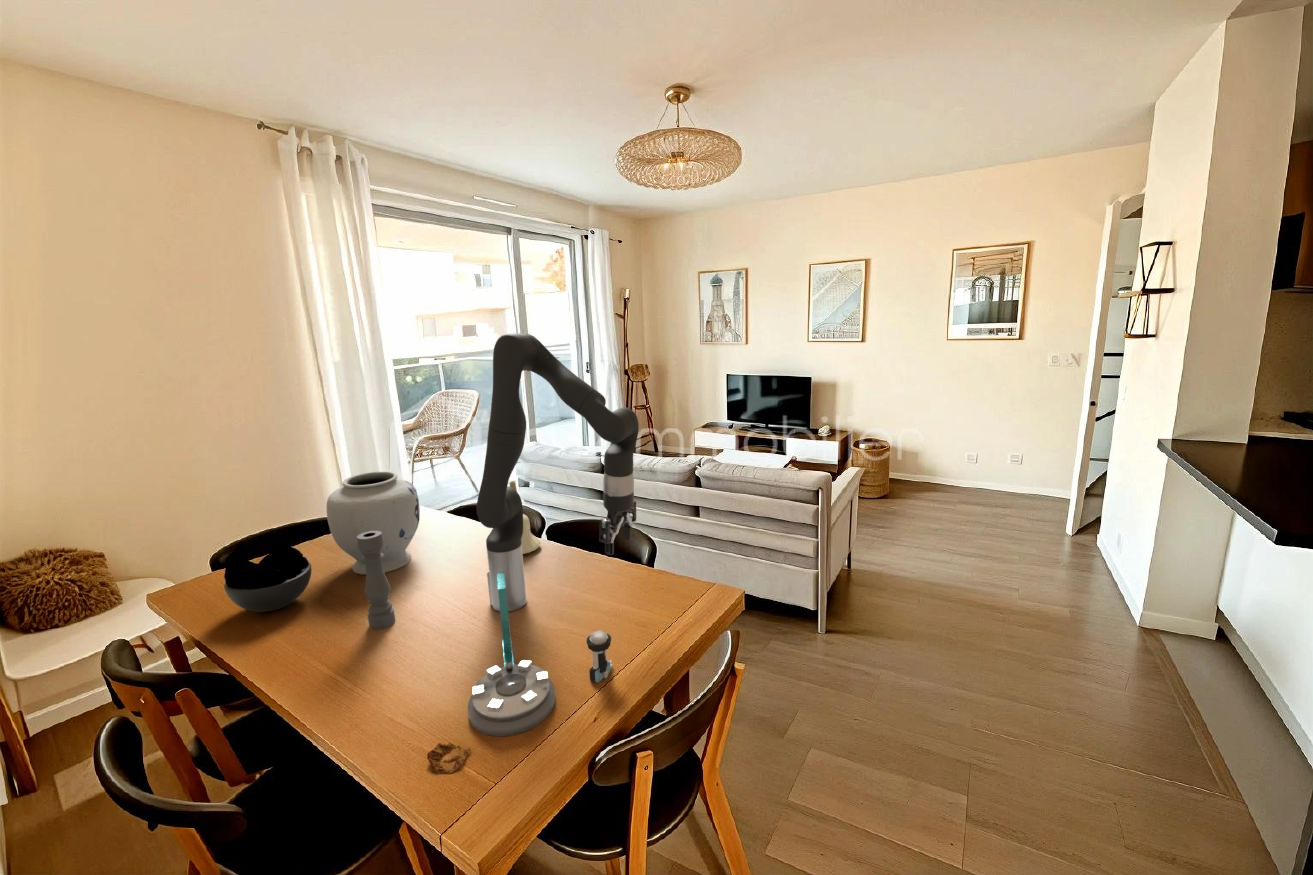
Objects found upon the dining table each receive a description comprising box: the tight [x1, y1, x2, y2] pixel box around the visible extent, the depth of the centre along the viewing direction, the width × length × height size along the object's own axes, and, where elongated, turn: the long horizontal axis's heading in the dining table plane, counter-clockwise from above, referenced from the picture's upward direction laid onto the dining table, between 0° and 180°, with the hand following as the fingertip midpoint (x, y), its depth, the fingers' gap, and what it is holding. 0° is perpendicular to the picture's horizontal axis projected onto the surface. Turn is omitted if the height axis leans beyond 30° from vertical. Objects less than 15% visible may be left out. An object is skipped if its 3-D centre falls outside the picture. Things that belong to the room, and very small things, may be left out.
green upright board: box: [471, 572, 550, 722], centre depth 112 cm, size 26×15×19 cm, turn 18°
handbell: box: [509, 480, 541, 555], centre depth 185 cm, size 15×15×25 cm
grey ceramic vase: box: [326, 471, 421, 576], centre depth 176 cm, size 27×27×30 cm
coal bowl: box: [223, 538, 313, 613], centre depth 151 cm, size 20×20×19 cm
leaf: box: [426, 742, 472, 775], centre depth 96 cm, size 6×7×2 cm
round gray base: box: [467, 678, 556, 737], centre depth 110 cm, size 17×17×2 cm
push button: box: [586, 630, 613, 684], centre depth 118 cm, size 7×5×10 cm
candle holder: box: [357, 531, 396, 631], centre depth 140 cm, size 6×6×25 cm
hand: (618, 546), depth 138 cm, fingers open, 8 cm apart
